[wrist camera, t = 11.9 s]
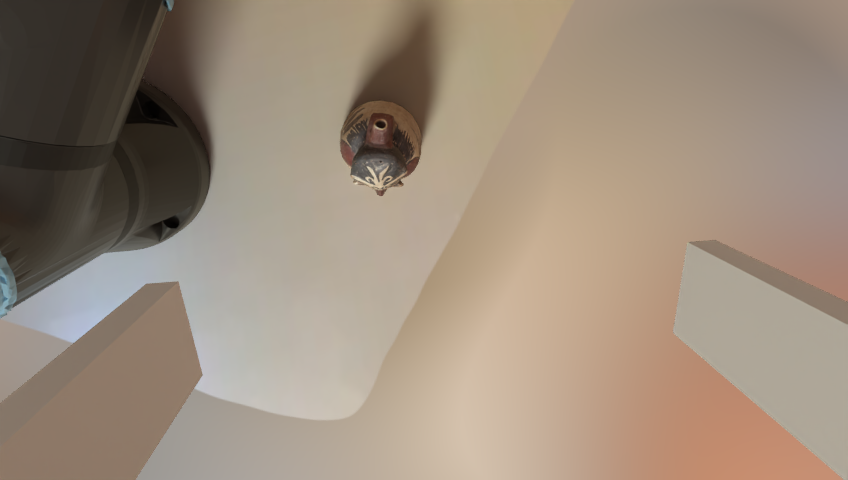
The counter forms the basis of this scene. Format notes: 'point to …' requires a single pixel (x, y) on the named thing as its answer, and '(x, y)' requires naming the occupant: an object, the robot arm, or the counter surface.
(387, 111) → the figurine
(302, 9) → the counter surface
